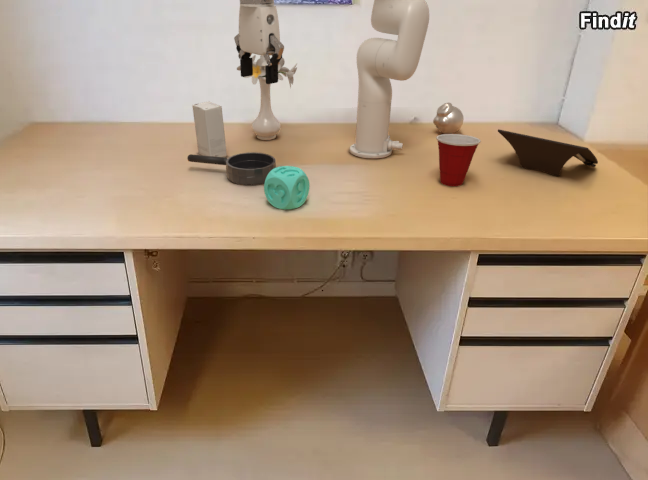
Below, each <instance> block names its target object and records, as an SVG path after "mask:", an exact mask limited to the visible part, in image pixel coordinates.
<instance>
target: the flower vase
mask: <svg viewBox="0 0 648 480" xmlns="http://www.w3.org/2000/svg"><path fill="white" fill-rule="evenodd" d="M256 55H257V54H253V56H251V58H252V61H253V75H252V76H247V77H243V78H244V79H249V78H251V83H252V85H256V84H257V83H258V82H259V83H258V84H259V89H260V108H259V112H258V115H257V116H256V117H255V119H254V120H253V121H252V124H251V130H252V132H253V134H255V135H256V138H257V139H258V140H261V141H271V140H274V139H276V138H277V135H278V134H279V133H280V131H281V130H282V129H281V128H282V126H281V123H280V121H279V119H278V118H277V117H276V116H275V115H274V112H273V110H272V109H273V108H272V102H271V100H272V99H271V85H272V84H266V73H265V66H266V65H267V62H266V60H265V58H264V56H263V55H259V58H258V59H257V60H256V58H257V56H256ZM270 59H271V57H270ZM284 65H285V58H284V57H282V58H281V60H280V64H278V81H284V77H285V78H287V80H288V85H289V88H290V89H291V88H292V85H294V75H295V74H296V72H297V71H298V67H297V65H298V63H295V65H294V66H293V67H292V68H291V69H289V68H288V67H287V66H284ZM236 71H239V72H241V69H240V65H238V66H237V67H236ZM283 76H284V77H283Z"/></svg>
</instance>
